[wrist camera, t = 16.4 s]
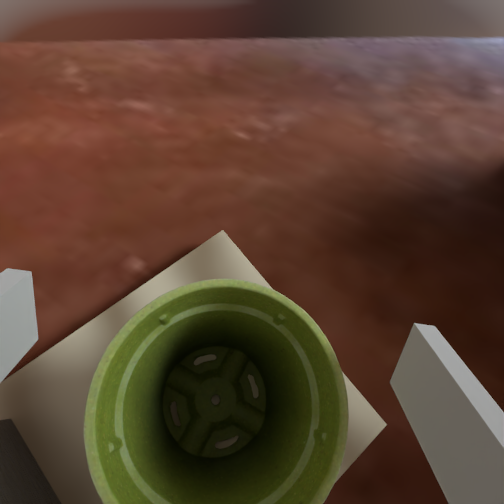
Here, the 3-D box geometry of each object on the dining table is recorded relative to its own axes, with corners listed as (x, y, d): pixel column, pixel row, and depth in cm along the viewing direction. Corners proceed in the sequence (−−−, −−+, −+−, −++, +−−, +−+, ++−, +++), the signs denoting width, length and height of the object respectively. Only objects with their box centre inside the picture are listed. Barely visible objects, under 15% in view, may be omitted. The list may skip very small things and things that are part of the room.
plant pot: (114, 346, 21) (59, 322, 13) (261, 297, 23) (293, 251, 15) (155, 523, 18) (118, 631, 10) (317, 449, 20) (393, 490, 12)
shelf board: (221, 243, 27) (222, 229, 25) (369, 421, 24) (386, 424, 21) (-18, 411, 21) (-45, 413, 19) (135, 675, 18) (124, 718, 16)
